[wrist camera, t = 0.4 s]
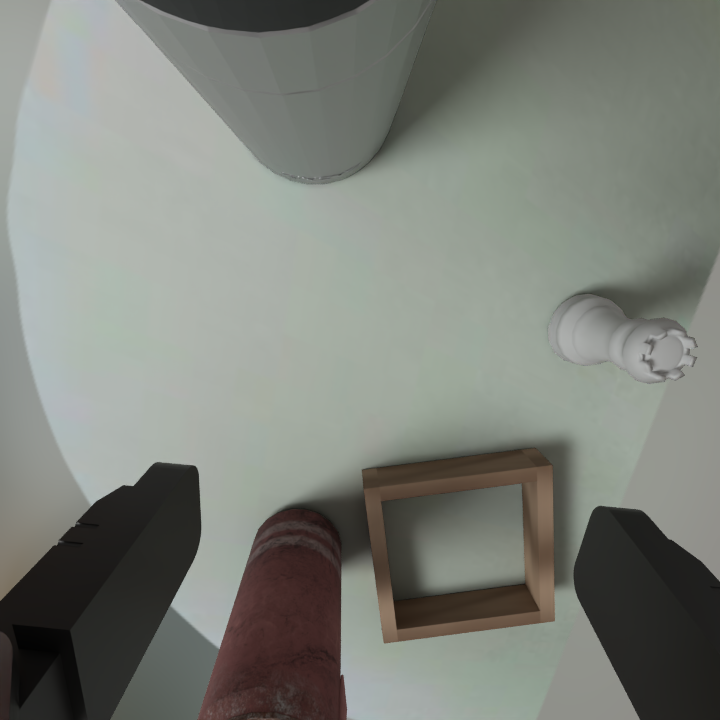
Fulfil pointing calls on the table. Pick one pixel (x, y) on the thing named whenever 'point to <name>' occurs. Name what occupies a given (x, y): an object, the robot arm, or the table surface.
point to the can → (284, 628)
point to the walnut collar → (481, 605)
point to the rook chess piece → (619, 339)
